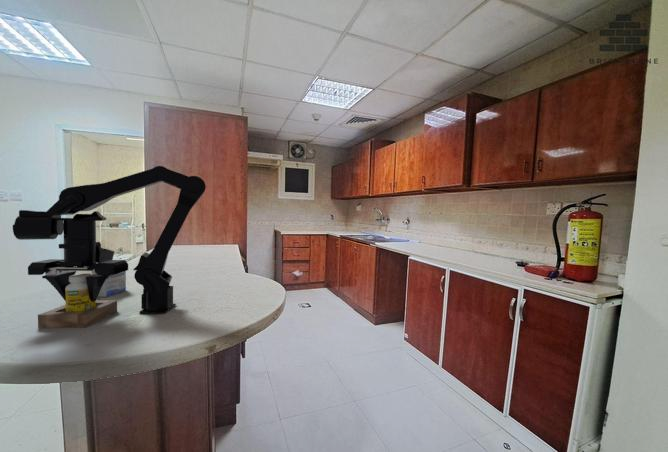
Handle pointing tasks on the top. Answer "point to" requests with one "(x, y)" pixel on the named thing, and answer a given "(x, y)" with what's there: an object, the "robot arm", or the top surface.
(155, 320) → the top surface
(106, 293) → the medicine box
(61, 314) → the socket block
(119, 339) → the top surface
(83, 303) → the supplement bottle
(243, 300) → the top surface
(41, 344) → the top surface
